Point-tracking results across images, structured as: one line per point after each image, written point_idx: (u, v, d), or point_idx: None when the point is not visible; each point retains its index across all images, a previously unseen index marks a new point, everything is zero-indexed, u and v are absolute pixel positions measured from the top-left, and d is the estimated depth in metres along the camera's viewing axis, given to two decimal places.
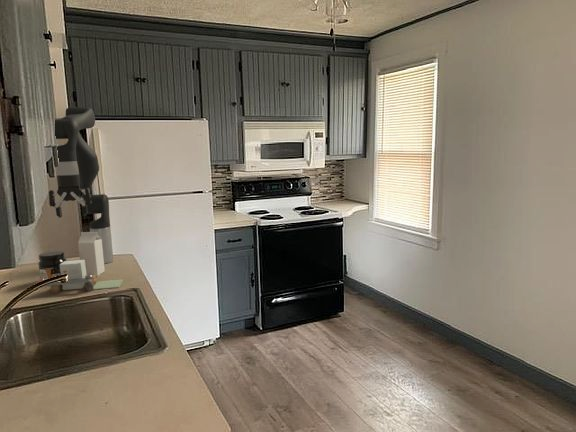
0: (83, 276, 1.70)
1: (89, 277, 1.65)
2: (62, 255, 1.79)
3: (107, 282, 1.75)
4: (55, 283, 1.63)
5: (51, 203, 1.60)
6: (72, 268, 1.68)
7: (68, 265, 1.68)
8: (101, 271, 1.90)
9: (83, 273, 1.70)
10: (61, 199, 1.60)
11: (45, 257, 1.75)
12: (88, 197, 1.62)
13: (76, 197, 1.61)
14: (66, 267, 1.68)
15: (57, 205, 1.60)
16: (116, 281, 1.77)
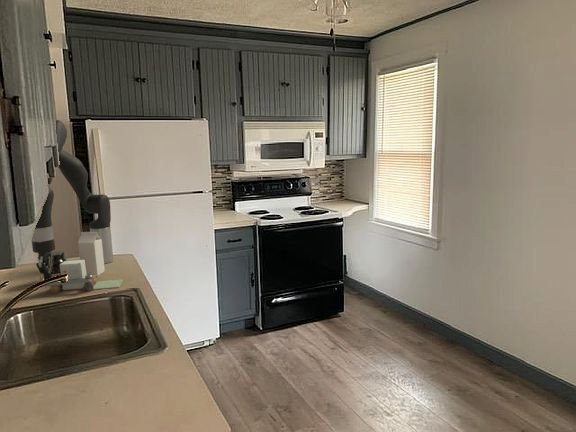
0: (83, 276, 1.70)
1: (89, 277, 1.65)
2: (62, 255, 1.79)
3: (107, 282, 1.75)
4: (55, 283, 1.63)
5: (47, 270, 1.62)
6: (72, 268, 1.68)
7: (68, 265, 1.68)
8: (101, 271, 1.90)
9: (83, 273, 1.70)
10: (49, 263, 1.64)
11: None
12: (52, 263, 1.69)
13: (51, 261, 1.66)
14: (66, 267, 1.68)
15: (49, 271, 1.65)
16: (116, 281, 1.77)
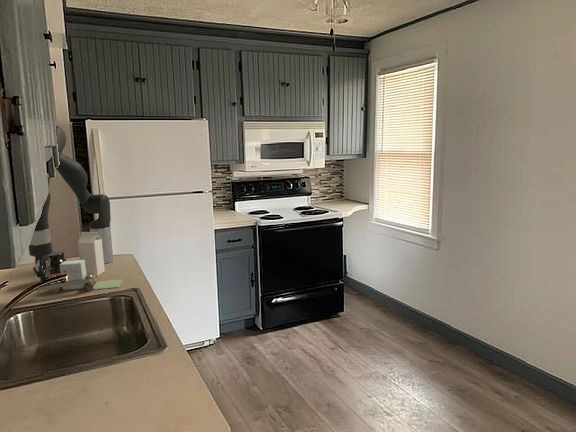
0: (83, 276, 1.70)
1: (90, 277, 1.65)
2: (62, 255, 1.79)
3: (107, 282, 1.75)
4: (55, 286, 1.60)
5: (44, 274, 1.57)
6: (72, 268, 1.68)
7: (68, 265, 1.68)
8: (101, 271, 1.90)
9: (83, 273, 1.70)
10: (47, 267, 1.59)
11: None
12: (50, 266, 1.64)
13: (48, 264, 1.61)
14: (66, 267, 1.68)
15: (47, 274, 1.60)
16: (116, 281, 1.77)
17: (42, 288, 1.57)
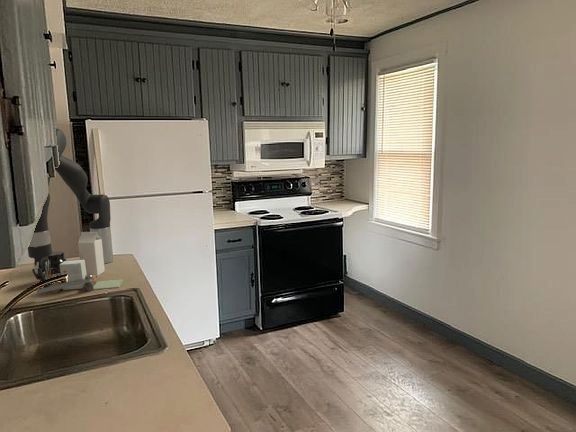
0: (83, 276, 1.70)
1: (91, 277, 1.66)
2: (62, 255, 1.79)
3: (107, 282, 1.75)
4: (56, 287, 1.58)
5: (44, 276, 1.55)
6: (72, 268, 1.68)
7: (68, 265, 1.68)
8: (101, 271, 1.90)
9: (83, 273, 1.70)
10: (46, 269, 1.57)
11: None
12: (49, 268, 1.62)
13: (48, 266, 1.59)
14: (66, 267, 1.68)
15: (46, 276, 1.58)
16: (116, 281, 1.77)
17: (43, 290, 1.55)
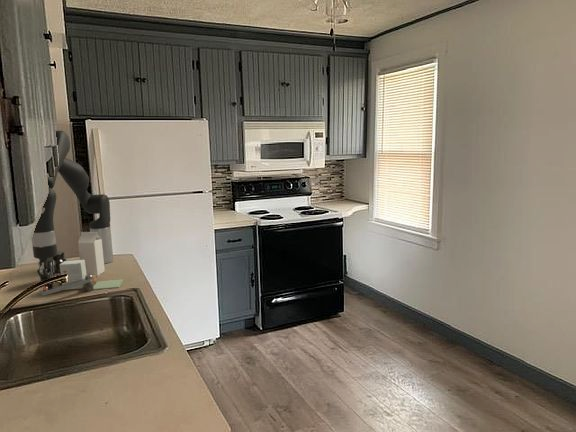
0: (83, 276, 1.70)
1: (91, 276, 1.66)
2: (62, 255, 1.79)
3: (107, 282, 1.75)
4: (60, 288, 1.56)
5: (49, 277, 1.53)
6: (72, 268, 1.68)
7: (68, 265, 1.68)
8: (101, 271, 1.90)
9: (83, 273, 1.70)
10: (51, 270, 1.55)
11: None
12: (54, 269, 1.60)
13: (53, 267, 1.57)
14: (66, 267, 1.68)
15: (51, 277, 1.55)
16: (116, 281, 1.77)
17: (48, 292, 1.53)
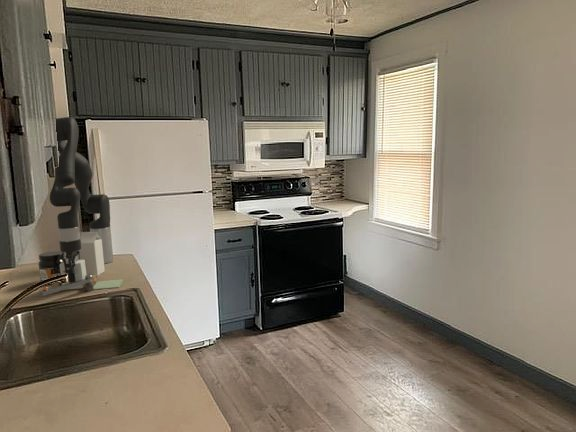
0: (83, 276, 1.70)
1: (91, 276, 1.66)
2: (62, 255, 1.79)
3: (107, 282, 1.75)
4: (60, 288, 1.56)
5: (72, 269, 1.66)
6: None
7: None
8: (101, 271, 1.90)
9: (83, 273, 1.70)
10: None
11: (45, 257, 1.75)
12: (79, 259, 1.76)
13: (78, 259, 1.73)
14: None
15: (74, 270, 1.68)
16: (116, 281, 1.77)
17: (48, 292, 1.53)
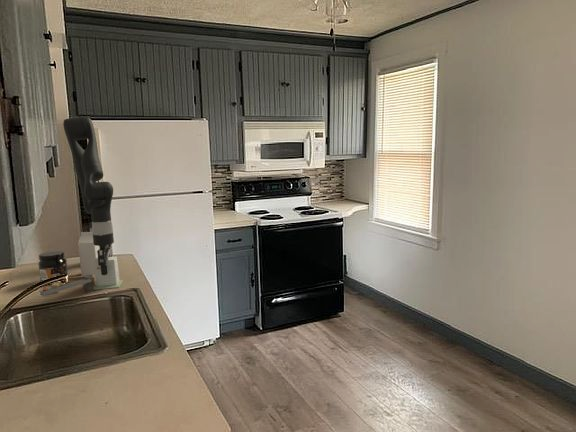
0: (116, 273, 1.72)
1: (91, 276, 1.66)
2: (62, 255, 1.79)
3: None
4: (60, 288, 1.56)
5: (105, 262, 1.66)
6: None
7: None
8: None
9: (116, 270, 1.72)
10: (108, 256, 1.69)
11: (45, 257, 1.75)
12: (111, 250, 1.78)
13: (110, 252, 1.74)
14: None
15: (106, 263, 1.68)
16: None
17: (48, 292, 1.53)
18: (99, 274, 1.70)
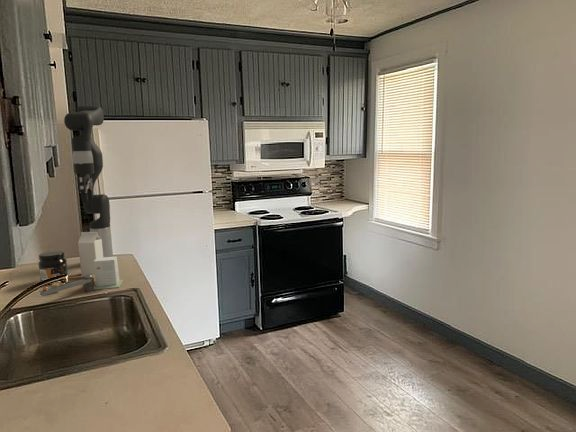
0: (116, 273, 1.72)
1: (91, 276, 1.66)
2: (62, 255, 1.79)
3: None
4: (60, 288, 1.56)
5: (85, 189, 1.73)
6: (106, 265, 1.70)
7: (102, 262, 1.69)
8: None
9: (116, 270, 1.72)
10: (88, 185, 1.76)
11: (45, 257, 1.75)
12: (92, 183, 1.85)
13: (91, 183, 1.81)
14: (100, 264, 1.69)
15: (86, 191, 1.75)
16: None
17: (48, 292, 1.53)
18: (99, 274, 1.70)
